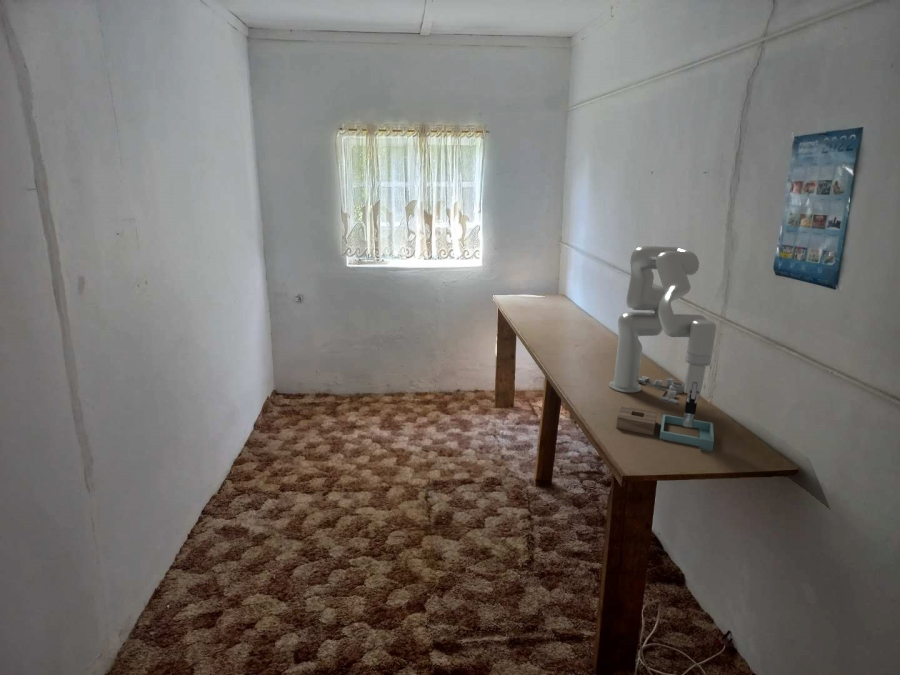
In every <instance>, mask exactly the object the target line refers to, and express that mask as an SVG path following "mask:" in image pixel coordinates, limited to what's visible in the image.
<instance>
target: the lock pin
mask: <svg viewBox="0 0 900 675" xmlns="http://www.w3.org/2000/svg"><path fill="white" fill-rule="evenodd" d="M686 394H687V395H686V398H687V400H688V393H686ZM690 396H691V395H690ZM698 396H699V395H698ZM698 396H697V399H698ZM683 418H684V421H683V427H685V428H690V429H691V428H693V421H694V420H695V419H694V418H695V414H688V413H685V412H684V415H683Z"/></svg>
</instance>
